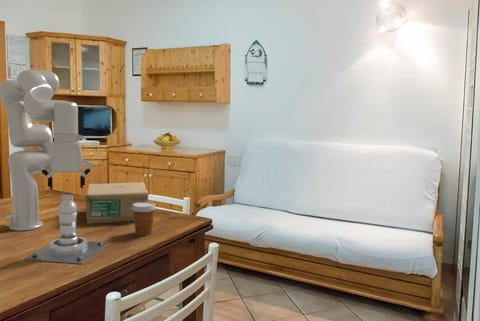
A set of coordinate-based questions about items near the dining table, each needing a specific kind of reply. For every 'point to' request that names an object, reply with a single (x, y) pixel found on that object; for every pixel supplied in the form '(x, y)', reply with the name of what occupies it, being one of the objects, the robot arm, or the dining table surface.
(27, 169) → the robot arm
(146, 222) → the disposable coffee cup
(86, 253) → the duct flange
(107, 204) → the paper package
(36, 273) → the dining table surface
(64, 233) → the plastic bottle
